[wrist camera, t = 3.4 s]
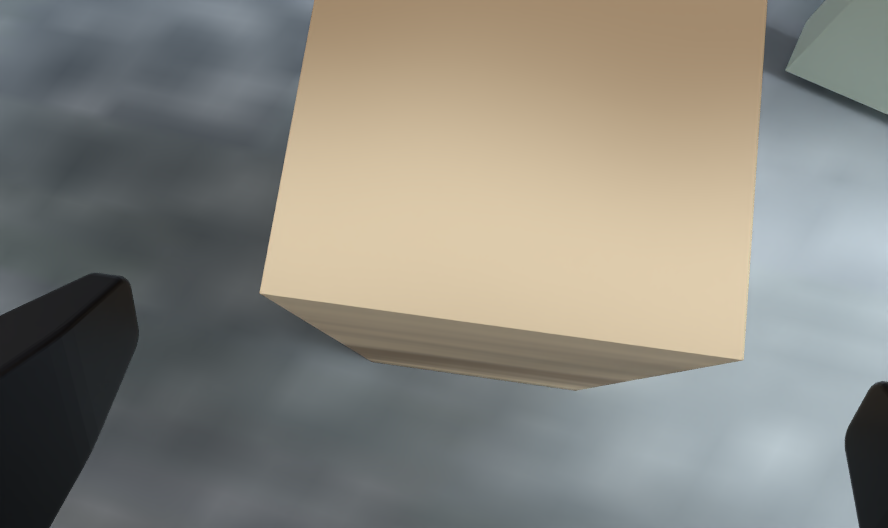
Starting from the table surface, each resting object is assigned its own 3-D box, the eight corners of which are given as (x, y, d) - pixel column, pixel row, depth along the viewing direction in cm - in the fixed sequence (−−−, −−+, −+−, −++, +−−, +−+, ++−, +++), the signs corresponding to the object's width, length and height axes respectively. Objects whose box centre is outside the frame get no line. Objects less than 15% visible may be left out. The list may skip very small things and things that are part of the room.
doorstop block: (575, 390, 19) (744, 359, 8) (372, 361, 19) (259, 293, 8) (594, 212, 19) (769, -40, 9) (399, 186, 20) (331, -91, 9)
